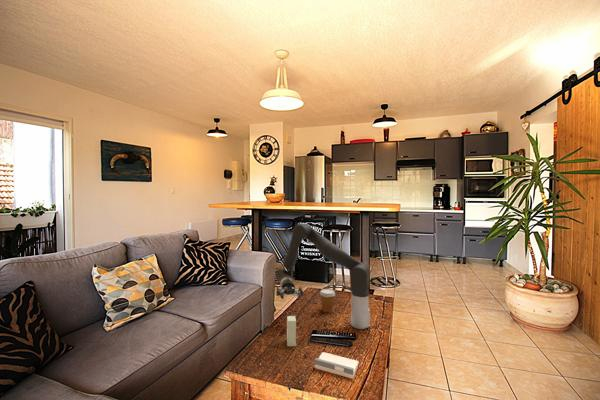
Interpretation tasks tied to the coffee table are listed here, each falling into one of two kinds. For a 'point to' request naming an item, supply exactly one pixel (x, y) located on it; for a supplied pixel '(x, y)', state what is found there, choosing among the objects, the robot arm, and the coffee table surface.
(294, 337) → the tea box
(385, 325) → the coffee table surface
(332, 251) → the robot arm
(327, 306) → the disposable coffee cup
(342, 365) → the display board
